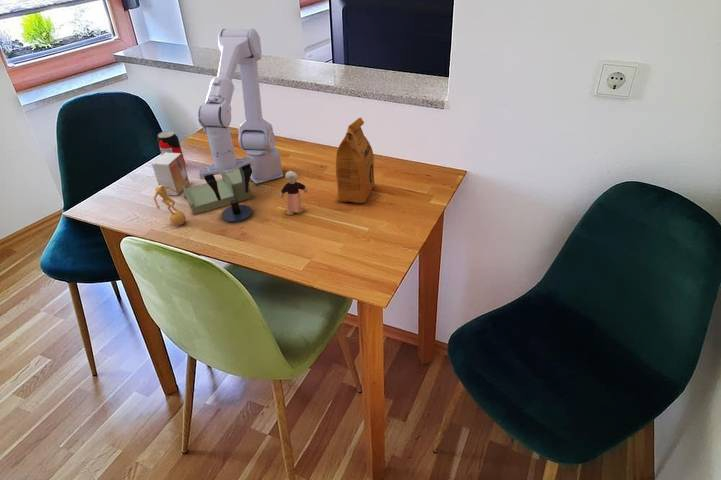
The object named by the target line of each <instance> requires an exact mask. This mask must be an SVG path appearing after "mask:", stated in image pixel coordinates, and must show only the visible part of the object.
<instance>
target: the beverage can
mask: <svg viewBox="0 0 721 480" xmlns="http://www.w3.org/2000/svg"><path fill="white" fill-rule="evenodd" d="M157 144H158V148H159V151H160V154H161V156H162V155H163V154H164V153H166V152H167V153H181V154H182V157H183V161H184V164H185V165H186V162H185V158H184V154H183V150H182V147H181V144H180V140H179V137H178V135H176V134H175V131H173V130H164V131H161V132H159V133H157Z"/></svg>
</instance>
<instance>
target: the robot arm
mask: <svg viewBox="0 0 721 480" xmlns="http://www.w3.org/2000/svg"><path fill="white" fill-rule="evenodd" d="M217 43H218V49H219V52H220V58H219V65H218V71H217V75H216V76H215V77H213V78H212V79H211V81H210V85H209V89H208V92H207V95H206V99H205V102H203V104H201V105H200V106H199V108H198V112H197V117H198V118H197V121H198V123H199V125H200V126H201V127H202V129H203V134H205V135H206V136H207V140H208V145H209V149H210V153H211V157H212V162H213V163H212V164H210V165H208V166H206V167H204V168H201V169H198V170H197V174H198V178H199V179H200V181H202V180H204V181H205V182H206V183H208V185H209V186H210V187H211V188H212V189H213V191H214V193H215V195H216V197H217V199H218V201H219V200H221V197H220V194H219V191H218V186H217V179H216V177H215V176H216V175H221V173H227V174H228V173H232V172H234V170H236V169H239V170H240V174H241V178H242V184H243V189H244V191H245V192H246V193H248V186H250V181H252V182H253V183H254V184H255V185H259V184H261V183H265V182H269V181H273V180H276V179H279V178H283V177H284V174H283V167H282V160H281V156H280V152H279V150H278V148H277V147H276V146H275V145H276V135H275V133H274V129H273V125H272V124H271V123H270V122H268V121H267V120H265V119H264V118H263V111H262V110H263V109H262V101H261V100H262V99H261V98H262V97H261V90H260V79H259V69H258V66H259V65H258V61H260V60H262V44H261V37H260V35H259V33H258V31H257V30H256V29H255V28H249V29H244V28H243V29H242V28H240V29H239V28H238V29H237V28H233V29H231V28H229V29H228V28H227V29H226V28H221V29H220V30H219V32H218V35H217ZM238 65H239V72H240V80H241V89H242V99H243V100H242V101H243V109H244V116H245V117H244V118H245V120H244V121H243V122H242V123H240V125H239V126H238V140H237V141H238V145H239V147H240V149H241V150H242V151H244V154H247V157H240V158H239V157H238V158H237V157H236V152H235V148H234V143H233V139H232V134H231V133H232V132H231V128H230V125H231V122H232V106H231V102H232V99H233V94H234V91H235V85H234V83H233V78H234V76H235V73H236V70H237V68H238Z"/></svg>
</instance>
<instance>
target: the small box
mask: <svg viewBox="0 0 721 480" xmlns="http://www.w3.org/2000/svg"><path fill="white" fill-rule="evenodd" d="M182 154H183V153H182ZM182 154H181V153H167V152H166V153H164V154H163V155H162V154H161V156H159V157H158V158H157V159H156V160H155V161H154V162H152V163H151V166H152V170H153V172H154V175H155V178H156V181H157V184H158V186H161V185H163V186H169V187H170V188H172V189H174V190H175V191H176V192H177V193H178V194H177V193H176V192H174V191H172V190H171V189H169V188H167V189H166V191H167V195H169V196H179V195H180V194H181V193H182V192H183V191H184V190H183V186H185V188H186V189H187V187H188V186H189V185H190V179H189V176H188V172H187V169H186V163H185V164H184V161H185V160H184V161H183V157H184V156H183V157H182Z"/></svg>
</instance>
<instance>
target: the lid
mask: <svg viewBox="0 0 721 480" xmlns="http://www.w3.org/2000/svg"><path fill="white" fill-rule="evenodd" d="M229 205H230V206H229V207H227V208H225V209H224V210H223V211H222V212H221V218H222V220H223V221H224V222H226V223H230V224H236V223H240V222H241V223H242V222H244V221H247V220H248V219H249V218H251V216H252V214H253V210H252V208H251V207H250V206H248V205H245V204H240V201H239V202H238V200H237V199H233V200H231V201H230V204H229Z"/></svg>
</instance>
